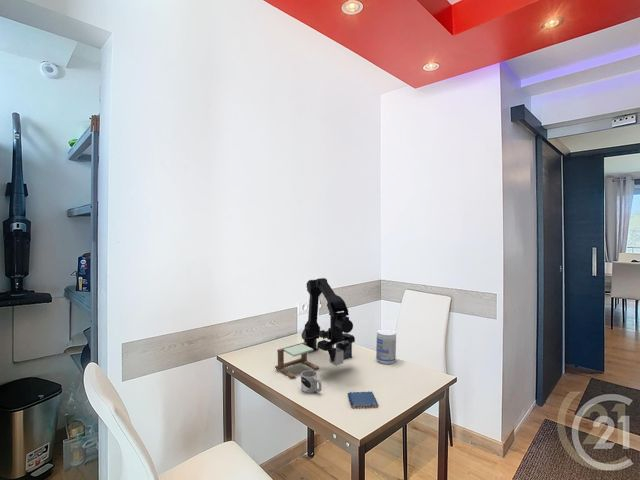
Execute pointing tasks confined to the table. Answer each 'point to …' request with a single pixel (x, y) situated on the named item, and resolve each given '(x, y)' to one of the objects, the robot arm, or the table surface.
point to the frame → (292, 362)
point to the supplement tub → (386, 346)
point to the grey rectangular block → (338, 357)
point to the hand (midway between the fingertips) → (336, 360)
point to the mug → (310, 382)
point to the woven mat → (362, 399)
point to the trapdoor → (298, 350)
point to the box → (347, 350)
